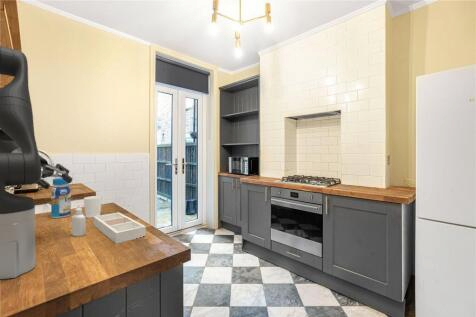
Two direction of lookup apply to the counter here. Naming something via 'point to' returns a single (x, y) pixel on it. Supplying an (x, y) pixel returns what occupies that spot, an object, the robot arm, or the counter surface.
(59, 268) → the counter surface
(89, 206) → the white cup
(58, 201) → the beverage bottle
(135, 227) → the rack
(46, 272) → the counter surface
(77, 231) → the eye dropper bottle
